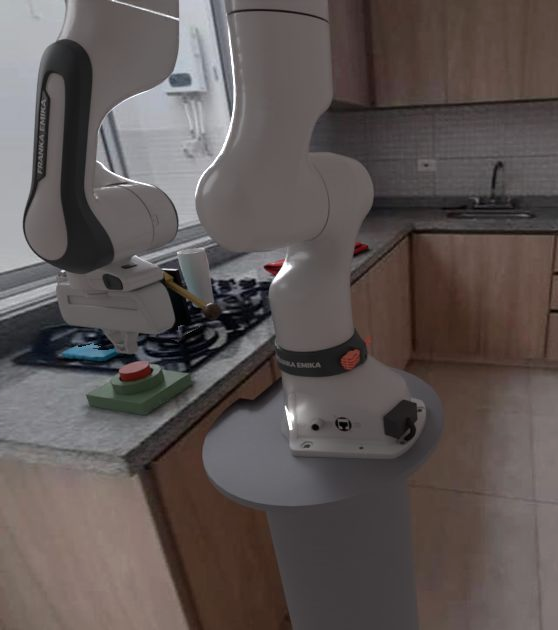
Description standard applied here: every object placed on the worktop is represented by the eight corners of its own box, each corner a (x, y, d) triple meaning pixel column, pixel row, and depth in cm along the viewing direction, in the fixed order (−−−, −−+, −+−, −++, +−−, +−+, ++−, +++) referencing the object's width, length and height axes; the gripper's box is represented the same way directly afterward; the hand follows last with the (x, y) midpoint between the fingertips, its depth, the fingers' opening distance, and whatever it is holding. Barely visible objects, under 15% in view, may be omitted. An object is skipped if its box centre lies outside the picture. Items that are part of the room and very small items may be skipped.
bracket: (206, 328, 103) (192, 267, 98) (176, 344, 95) (158, 278, 90) (179, 325, 106) (163, 265, 100) (148, 341, 98) (129, 277, 92)
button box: (192, 383, 78) (187, 363, 77) (145, 415, 70) (137, 393, 68) (141, 376, 82) (135, 357, 81) (89, 406, 73) (81, 384, 72)
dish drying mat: (369, 249, 173) (369, 240, 172) (300, 278, 139) (298, 267, 138) (337, 247, 180) (336, 238, 178) (263, 274, 146) (261, 263, 144)
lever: (222, 318, 97) (226, 306, 96) (211, 325, 94) (215, 312, 92) (163, 280, 98) (166, 267, 97) (150, 285, 95) (152, 272, 93)
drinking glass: (213, 308, 116) (200, 252, 111) (186, 310, 116) (172, 254, 110) (220, 300, 123) (208, 247, 117) (195, 302, 122) (182, 248, 116)
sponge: (92, 362, 87) (120, 347, 91) (58, 353, 92) (87, 339, 96) (95, 368, 87) (123, 353, 92) (61, 359, 92) (90, 345, 97)
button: (157, 371, 76) (155, 362, 75) (135, 384, 72) (132, 374, 71) (138, 368, 77) (135, 359, 76) (115, 381, 73) (112, 371, 73)
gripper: (33, 274, 68) (63, 354, 73) (134, 281, 62) (160, 367, 67) (73, 263, 74) (99, 338, 79) (170, 268, 68) (191, 349, 73)
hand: (128, 352), depth 73 cm, fingers closed
